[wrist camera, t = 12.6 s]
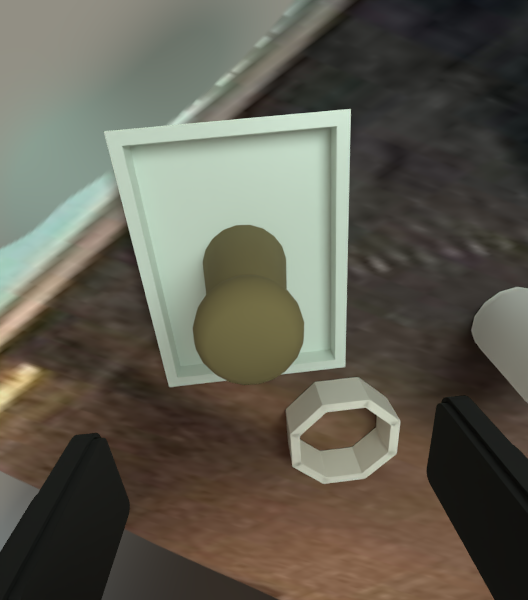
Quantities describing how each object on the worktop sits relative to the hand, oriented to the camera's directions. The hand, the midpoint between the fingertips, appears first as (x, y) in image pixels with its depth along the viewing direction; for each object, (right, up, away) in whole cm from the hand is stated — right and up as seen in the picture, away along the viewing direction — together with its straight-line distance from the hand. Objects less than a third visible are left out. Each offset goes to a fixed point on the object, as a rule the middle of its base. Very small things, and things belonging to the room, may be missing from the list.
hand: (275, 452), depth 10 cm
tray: (-2, +7, +15) cm, 17 cm away
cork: (-2, +7, +15) cm, 16 cm away
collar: (+7, -7, +23) cm, 25 cm away
